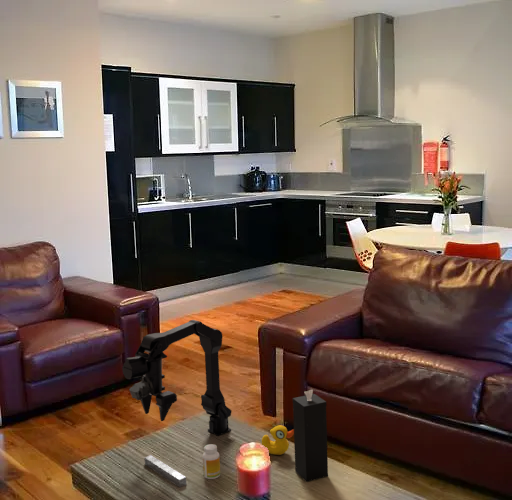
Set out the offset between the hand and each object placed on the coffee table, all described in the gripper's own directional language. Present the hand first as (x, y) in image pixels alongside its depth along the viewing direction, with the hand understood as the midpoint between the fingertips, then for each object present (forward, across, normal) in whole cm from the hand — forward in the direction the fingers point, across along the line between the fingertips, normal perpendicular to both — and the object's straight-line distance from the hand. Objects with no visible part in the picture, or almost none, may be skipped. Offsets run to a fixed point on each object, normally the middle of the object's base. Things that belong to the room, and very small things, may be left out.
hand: (154, 417), depth 214 cm
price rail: (+15, +12, -4) cm, 19 cm away
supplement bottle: (+14, +24, +5) cm, 28 cm away
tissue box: (+13, +47, +27) cm, 56 cm away
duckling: (+13, +29, +30) cm, 44 cm away
